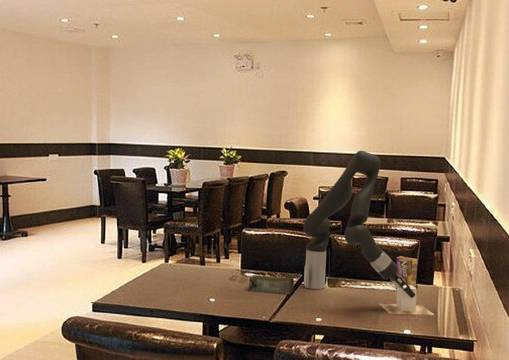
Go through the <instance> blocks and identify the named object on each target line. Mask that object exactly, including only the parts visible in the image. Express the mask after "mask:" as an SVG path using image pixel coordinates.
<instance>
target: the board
mask: <svg viewBox="0 0 509 360" xmlns="http://www.w3.org/2000/svg"><path fill="white" fill-rule="evenodd" d="M379 305H380V307H382V308H383V309H384V311H386V312H387V314H390V315H394V314H395V315H420V316H421V315H426V316H435V314H434V313H433V312H431V311H430V310H429V309H427V307H425V306H424V305H422V304H416V311H400V310H399V309H398V308H397V307H396V303H379Z"/></svg>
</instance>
